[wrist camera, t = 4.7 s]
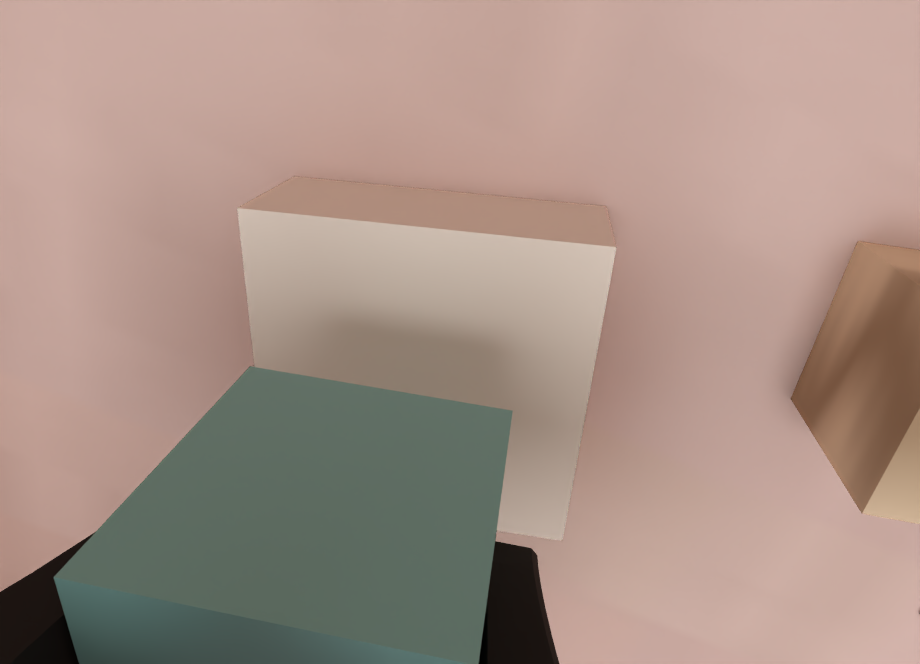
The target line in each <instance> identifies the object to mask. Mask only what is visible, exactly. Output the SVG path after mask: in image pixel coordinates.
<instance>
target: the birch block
mask: <svg viewBox="0 0 920 664" xmlns="http://www.w3.org/2000/svg"><path fill="white" fill-rule="evenodd" d="M791 400H792V402H793V403H794V405H795V406H796V408H797V410H798V411H799V413H800V415H801V416H802V418H803V419H804V421H805V423H806V424H807V426H808V427H809V429H810V431H811V432H812V434H813V436H814V437H815V439H816V440H817V442H818V444H819V445H820V447H821V448H822V450H823V452H824V453H825V455H826V456H827V458H828V460H829V461H830V463H831V465H832V466H833V468H834V469H835V471H836V473H837V474H838V476H839V477H840V479H841V481H842V482H843V484H844V486H845V487H846V489H847V490H848V492H849V494H850V495H851V497H852V498H853V500H854V502H855V503H856V505H857V507H858V508H859V510H860V511H861V513H862V514H866V515H872V516H877V517H883V518H889V519H894V520H900V521H905V522H911V523H917V524H920V250H916V249H909V248H902V247H895V246H888V245H881V244H874V243H867V242H860V241H858V242H857V244H856V247H855V249H854V251H853V254H852V256H851V258H850V261H849V263H848V265H847V268H846V270H845V272H844V275H843V277H842V280H841V282H840V284H839V287H838V289H837V291H836V294H835V296H834V298H833V301H832V303H831V305H830V308H829V310H828V312H827V315H826V317H825V319H824V322H823V324H822V327H821V329H820V331H819V334H818V336H817V338H816V341H815V343H814V345H813V348H812V350H811V352H810V355H809V357H808V359H807V362H806V364H805V367H804V369H803V371H802V374H801V376H800V378H799V381H798V383H797V385H796V388H795V390H794V392H793V395H792V397H791Z"/></svg>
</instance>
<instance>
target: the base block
mask: <svg viewBox="0 0 920 664" xmlns="http://www.w3.org/2000/svg"><path fill="white" fill-rule="evenodd" d="M237 212H238V222H239V231H240V240H241V249H242V258H243V268H244V277H245V286H246V295H247V305H248V314H249V323H250V332H251V341H252V351H253V360H254V367H257V368H263V369H269V370H275V371H281V372H287V373H293V374H299V375H305V376H311V377H316V378H322V379H328V380H334V381H340V382H346V383H352V384H358V385H364V386H370V387H376V388H382V389H387V390H393V391H399V392H405V393H411V394H417V395H423V396H429V397H435V398H441V399H447V400H453V401H459V402H464V403H470V404H476V405H482V406H488V407H494V408H500V409H506V410H512V411H513V412H512V420H511V427H510V435H509V442H508V449H507V457H506V464H505V472H504V479H503V486H502V494H501V501H500V509H499V516H498V523H497V531H500V532H507V533H513V534H519V535H526V536H532V537H539V538H545V539H552V540H558V541H563V535H564V530H565V524H566V519H567V514H568V508H569V503H570V497H571V492H572V486H573V481H574V476H575V470H576V465H577V459H578V454H579V449H580V443H581V438H582V432H583V427H584V421H585V416H586V411H587V405H588V400H589V394H590V389H591V383H592V378H593V373H594V367H595V362H596V356H597V351H598V345H599V340H600V335H601V329H602V324H603V318H604V313H605V307H606V302H607V297H608V291H609V286H610V280H611V275H612V269H613V264H614V259H615V253H616V248H617V247H616V243H615V239H614V235H613V231H612V227H611V223H610V219H609V215H608V211H607V207H606V206H598V205H588V204H577V203H567V202H556V201H546V200H536V199H525V198H515V197H505V196H494V195H484V194H473V193H463V192H453V191H442V190H432V189H422V188H411V187H401V186H390V185H380V184H370V183H359V182H349V181H338V180H328V179H318V178H307V177H297V176H294V177H292V178H291V179H289V180H287V181H285V182H283V183H282V184H280V185H278V186H276V187H274V188H272V189H271V190H269V191H267V192H265V193H263V194H262V195H260V196H258V197H256V198H254V199H252V200H251V201H249V202H247V203H245V204H243V205H242V206H240V207H238V208H237Z"/></svg>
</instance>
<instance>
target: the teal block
mask: <svg viewBox="0 0 920 664" xmlns="http://www.w3.org/2000/svg"><path fill="white" fill-rule="evenodd" d="M512 412H513V411H512V410H506V409H500V408H494V407H488V406H482V405H476V404H470V403H464V402H459V401H453V400H447V399H441V398H435V397H429V396H423V395H417V394H411V393H405V392H399V391H393V390H387V389H382V388H376V387H370V386H364V385H358V384H352V383H346V382H340V381H334V380H328V379H322V378H316V377H311V376H305V375H299V374H293V373H287V372H281V371H275V370H269V369H263V368H257V367H251V366H250V367H249V368H248V369H247V370H246V371H245V372H244V373H243V375H242V376H241V377H240V378H239V379H238V380H237V381H236V382H235V383H234V384H233V385H232V386H231V387H230V388H229V390H228V391H227V392H226V393H225V394H224V395H223V396H222V397H221V398H220V399H219V400H218V401H217V402H216V404H215V405H214V406H213V407H212V408H211V409H210V410H209V411H208V412H207V413H206V414H205V415H204V416H203V417H202V419H201V420H200V421H199V422H198V423H197V424H196V425H195V426H194V427H193V428H192V429H191V430H190V431H189V432H188V434H187V435H186V436H185V437H184V438H183V439H182V440H181V441H180V442H179V443H178V444H177V445H176V446H175V448H174V449H173V450H172V451H171V452H170V453H169V454H168V455H167V456H166V457H165V458H164V459H163V460H162V461H161V463H160V464H159V465H158V466H157V467H156V468H155V469H154V470H153V471H152V472H151V473H150V474H149V475H148V476H147V478H146V479H145V480H144V481H143V482H142V483H141V484H140V485H139V486H138V487H137V488H136V489H135V490H134V492H133V493H132V494H131V495H130V496H129V497H128V498H127V499H126V500H125V501H124V502H123V503H122V504H121V505H120V507H119V508H118V509H117V510H116V511H115V512H114V513H113V514H112V515H111V516H110V517H109V518H108V519H107V520H106V522H105V523H104V524H103V525H102V526H101V527H100V528H99V529H98V530H97V531H96V532H95V533H94V534H93V536H92V537H91V538H90V539H89V540H88V541H87V542H86V543H85V544H84V545H83V546H82V547H81V548H80V549H79V551H78V552H77V553H76V554H75V555H74V556H73V557H72V558H71V559H70V560H69V561H68V562H67V563H66V564H65V566H64V567H63V568H62V569H61V570H60V571H59V572H58V573H57V574H56V575H55V576H54V581H55V584H56V587H57V591H58V594H59V598H60V601H61V604H62V608H63V611H64V614H65V618H66V621H67V625H68V628H69V631H70V635H71V638H72V641H73V645H74V648H75V652H76V655H77V658H78V662H79V664H479V656H480V649H481V642H482V634H483V627H484V619H485V612H486V605H487V597H488V590H489V583H490V575H491V568H492V560H493V553H494V546H495V538H496V531H497V523H498V516H499V509H500V501H501V494H502V486H503V479H504V472H505V464H506V457H507V449H508V442H509V435H510V427H511V420H512Z"/></svg>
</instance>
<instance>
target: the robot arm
mask: <svg viewBox="0 0 920 664" xmlns="http://www.w3.org/2000/svg"><path fill="white" fill-rule="evenodd" d="M93 534H94V533H93ZM93 534H92V535H90V536H89V537H87V538H86V539H84V540H82V541H81V542H79V543H78V544H76V545H75V546H73V547H72V548H70V549H69V550H67V551H65V552H64V553H62V554H61V555H59V556H58V557H56V558H55V559H53V560H51V561H50V562H48V563H47V564H45V565H44V566H42V567H41V568H39V569H37V570H36V571H34V572H33V573H31V574H29V575H28V576H26V577H24V578H23V579H21V580H19V581H18V582H16V583H14V584H13V585H11V586H9V587H8V588H6V589H4V590H3V591H1V592H0V664H79V662H78V658H77V655H76V652H75V648H74V645H73V641H72V638H71V635H70V631H69V628H68V625H67V621H66V618H65V614H64V611H63V608H62V604H61V601H60V598H59V594H58V591H57V587H56V584H55V581H54V576H55V575H56V574H57V573H58V572H59V571H60V570H61V569H62V568H63V567H64V566H65V564H66V563H67V562H68V561H69V560H70V559H71V558H72V557H73V556H74V555H75V554H76V553H77V552H78V551H79V549H80V548H81V547H82V546H83V545H84V544H85V543H86V542H87V541H88V540H89V539H90V538H91V537H92V536H93ZM479 664H559V661H558V657H557V654H556V650H555V646H554V642H553V639H552V635H551V631H550V626H549V622H548V618H547V613H546V609H545V604H544V599H543V594H542V589H541V583H540V577H539V570H538V560H537V555H536V553H535V552H534V551H533V550H532V548H527V547H522V546H517V545H511V544H506V543H501V542H496V541H495V546H494V553H493V560H492V568H491V575H490V583H489V590H488V597H487V605H486V612H485V619H484V627H483V634H482V642H481V649H480V656H479Z"/></svg>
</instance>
